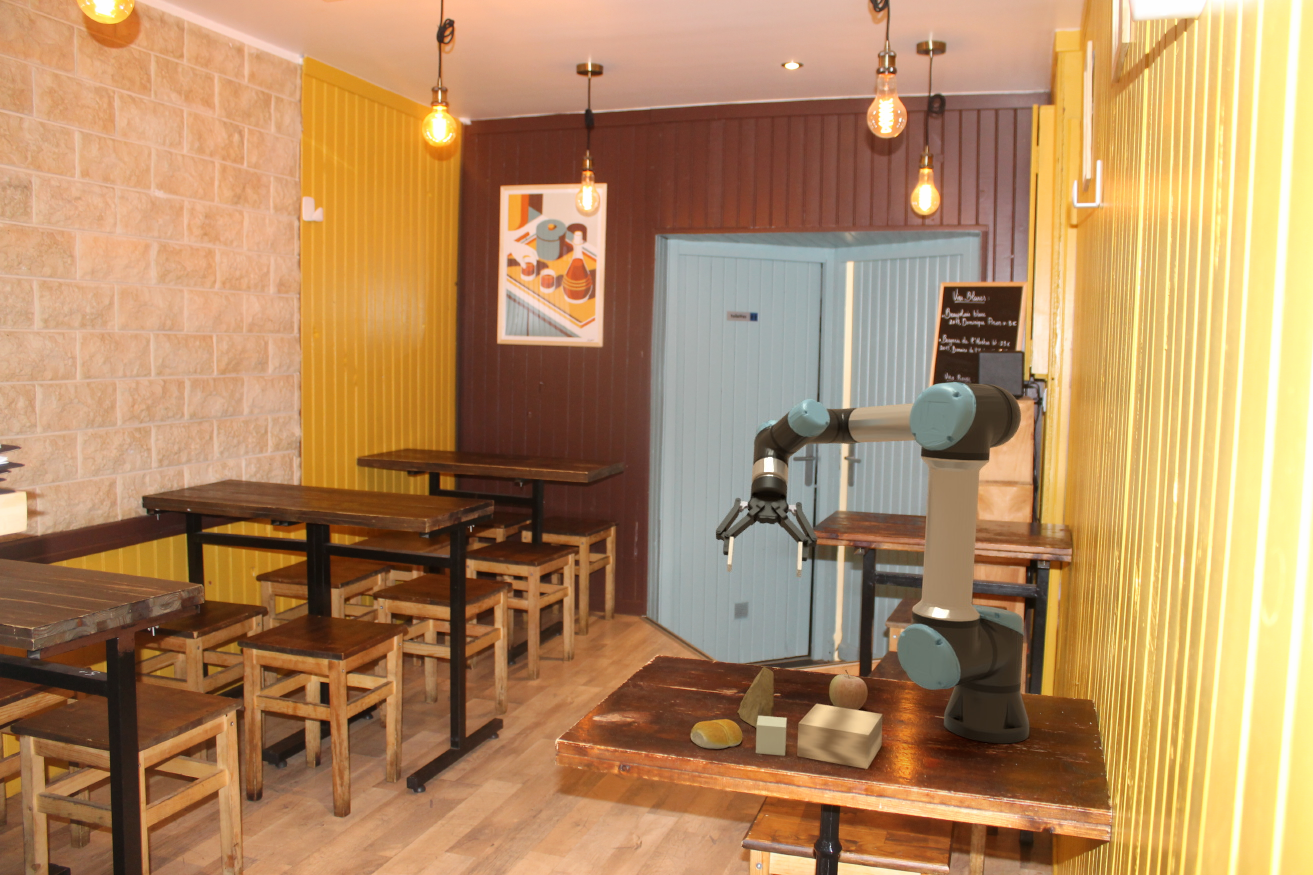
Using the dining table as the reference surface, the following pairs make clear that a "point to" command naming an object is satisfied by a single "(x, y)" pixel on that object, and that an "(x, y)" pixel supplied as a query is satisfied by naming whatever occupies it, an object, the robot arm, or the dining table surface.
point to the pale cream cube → (771, 735)
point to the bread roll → (716, 734)
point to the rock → (758, 698)
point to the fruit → (848, 691)
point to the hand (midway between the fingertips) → (764, 570)
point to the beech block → (840, 735)
